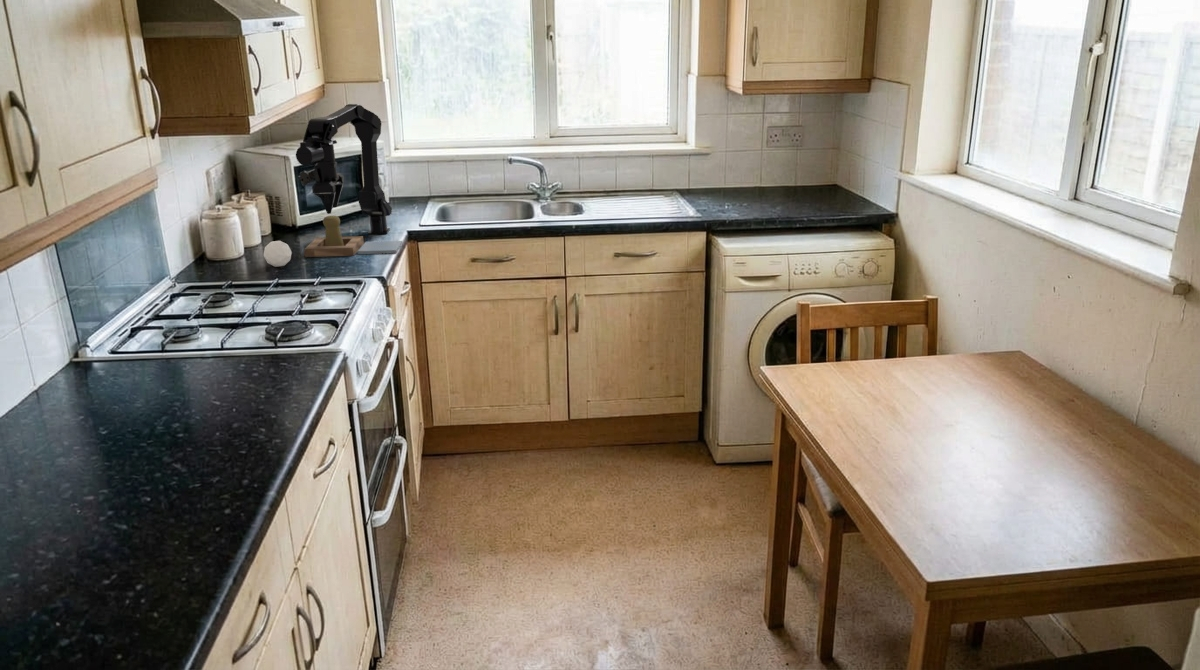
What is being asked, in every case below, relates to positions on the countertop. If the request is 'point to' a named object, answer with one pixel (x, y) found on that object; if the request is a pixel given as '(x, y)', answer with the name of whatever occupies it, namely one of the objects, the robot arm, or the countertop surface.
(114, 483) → the countertop surface
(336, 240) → the cork
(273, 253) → the ball
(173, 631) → the countertop surface
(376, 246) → the mat
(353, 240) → the pocket frame
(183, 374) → the countertop surface
